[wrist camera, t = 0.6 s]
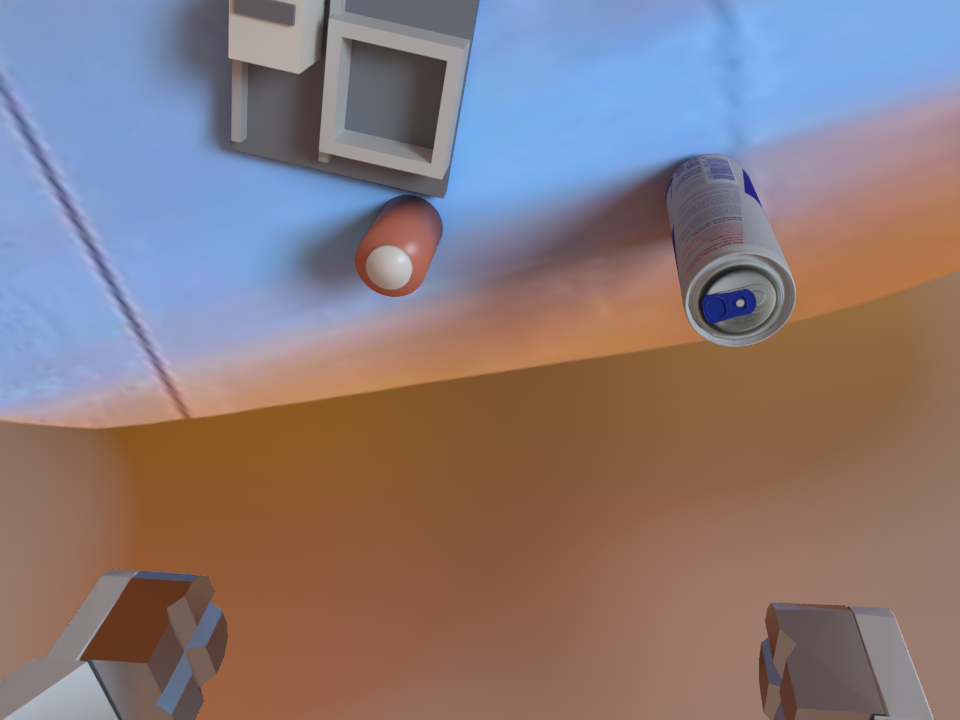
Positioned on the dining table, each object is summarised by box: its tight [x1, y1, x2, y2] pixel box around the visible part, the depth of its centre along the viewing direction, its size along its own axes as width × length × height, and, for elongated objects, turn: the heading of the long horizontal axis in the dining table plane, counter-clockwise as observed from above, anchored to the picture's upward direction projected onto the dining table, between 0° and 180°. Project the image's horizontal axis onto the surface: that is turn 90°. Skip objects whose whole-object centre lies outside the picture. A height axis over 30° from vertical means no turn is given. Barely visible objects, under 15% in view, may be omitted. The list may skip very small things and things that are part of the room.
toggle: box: [228, 0, 325, 74], centre depth 44 cm, size 4×4×4 cm
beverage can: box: [666, 154, 796, 347], centre depth 44 cm, size 5×5×15 cm
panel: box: [231, 0, 479, 198], centre depth 45 cm, size 20×14×4 cm
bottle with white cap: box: [355, 195, 443, 297], centre depth 51 cm, size 4×4×7 cm
